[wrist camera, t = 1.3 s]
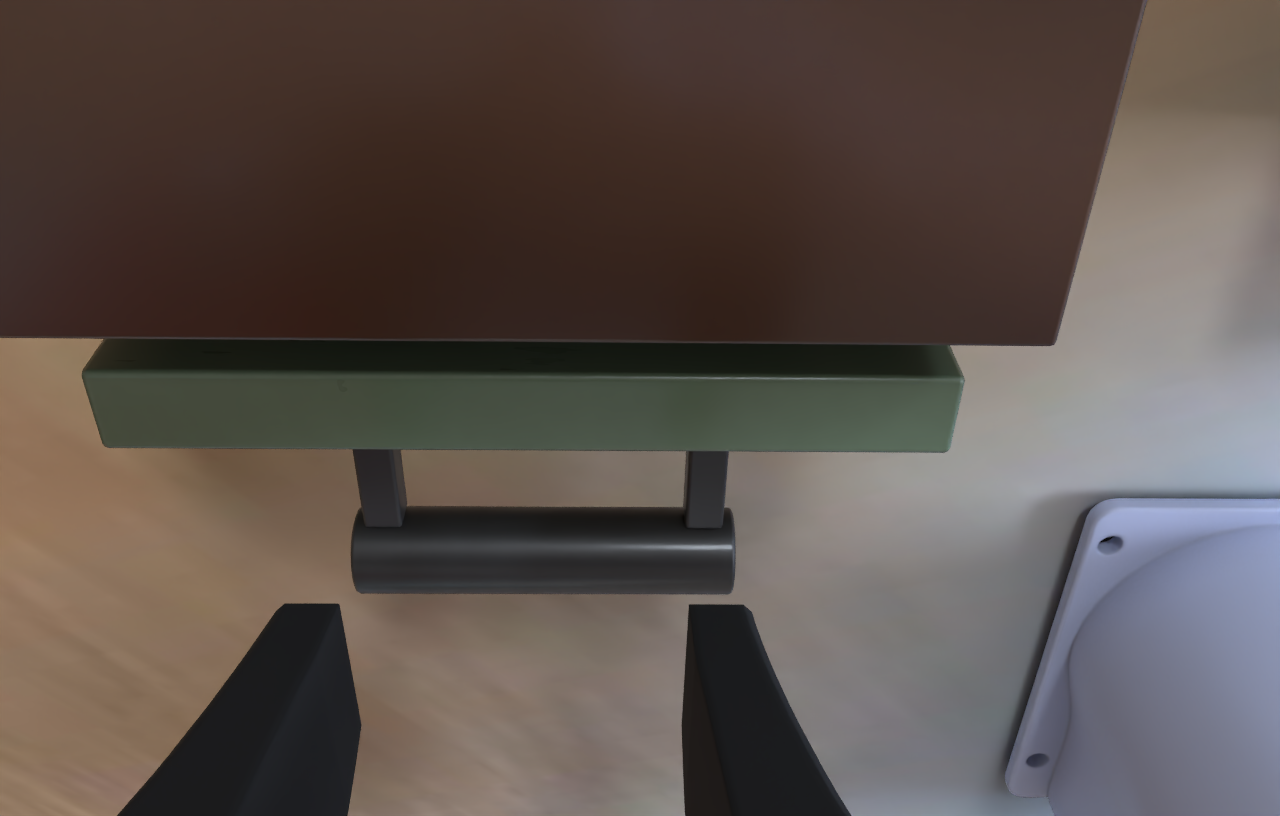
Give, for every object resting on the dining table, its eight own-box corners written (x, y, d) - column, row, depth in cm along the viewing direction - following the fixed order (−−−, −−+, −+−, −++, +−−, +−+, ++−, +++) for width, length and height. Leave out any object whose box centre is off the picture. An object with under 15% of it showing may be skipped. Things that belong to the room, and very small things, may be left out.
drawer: (840, 449, 22) (901, 681, 17) (269, 446, 22) (174, 681, 17) (1025, -786, 12) (1276, -1023, 8) (7, -817, 12) (-379, -1084, 7)
